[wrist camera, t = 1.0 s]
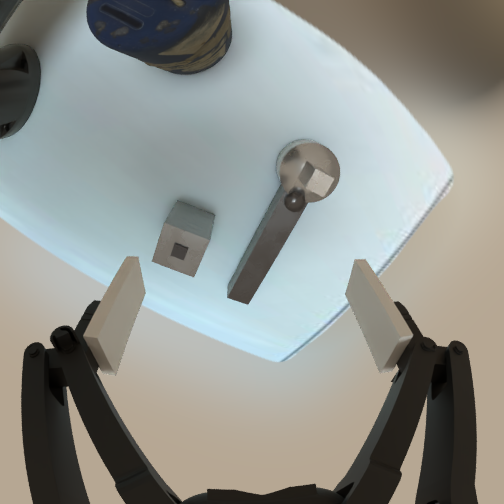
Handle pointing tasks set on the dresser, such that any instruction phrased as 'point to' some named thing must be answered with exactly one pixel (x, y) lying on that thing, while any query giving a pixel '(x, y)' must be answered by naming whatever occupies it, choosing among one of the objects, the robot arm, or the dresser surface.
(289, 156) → the ratchet
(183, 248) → the socket
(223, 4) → the canister
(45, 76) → the dresser surface
